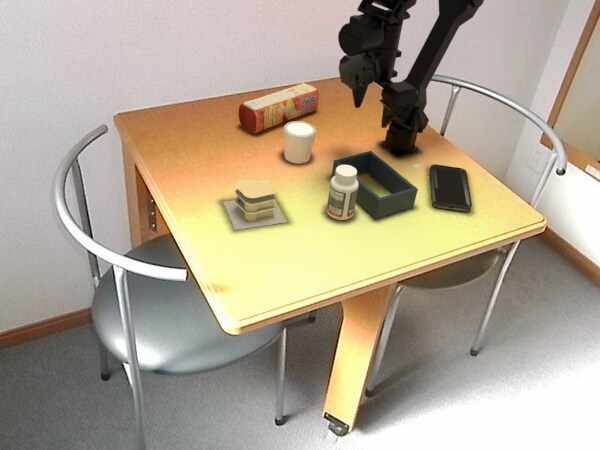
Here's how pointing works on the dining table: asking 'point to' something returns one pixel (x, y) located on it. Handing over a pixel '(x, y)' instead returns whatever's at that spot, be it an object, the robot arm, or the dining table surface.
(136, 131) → the dining table surface
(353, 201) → the pill bottle
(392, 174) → the bin
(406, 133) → the robot arm
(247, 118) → the snack package
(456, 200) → the phone
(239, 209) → the stacked layers on plate
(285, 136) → the white cup
